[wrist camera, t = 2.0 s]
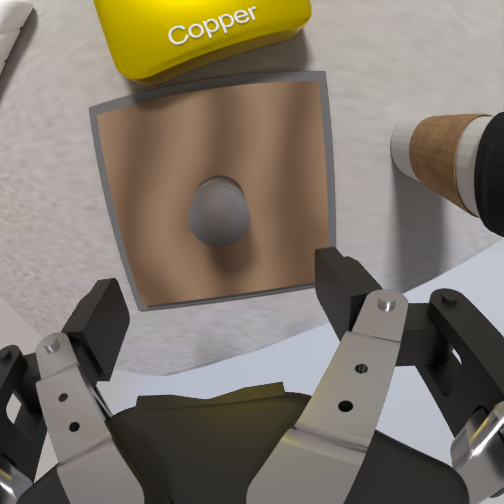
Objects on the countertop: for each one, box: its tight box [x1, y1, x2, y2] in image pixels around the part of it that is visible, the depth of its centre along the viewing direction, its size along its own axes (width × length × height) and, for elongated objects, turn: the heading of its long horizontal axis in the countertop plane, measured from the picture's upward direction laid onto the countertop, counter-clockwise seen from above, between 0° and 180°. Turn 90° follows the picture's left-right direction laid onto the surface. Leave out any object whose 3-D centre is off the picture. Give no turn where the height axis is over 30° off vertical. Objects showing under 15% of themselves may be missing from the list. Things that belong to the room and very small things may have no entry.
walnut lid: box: [97, 81, 329, 306], centre depth 22 cm, size 18×18×6 cm
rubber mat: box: [89, 71, 336, 311], centre depth 25 cm, size 20×20×1 cm
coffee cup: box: [391, 112, 504, 237], centre depth 18 cm, size 8×8×15 cm
